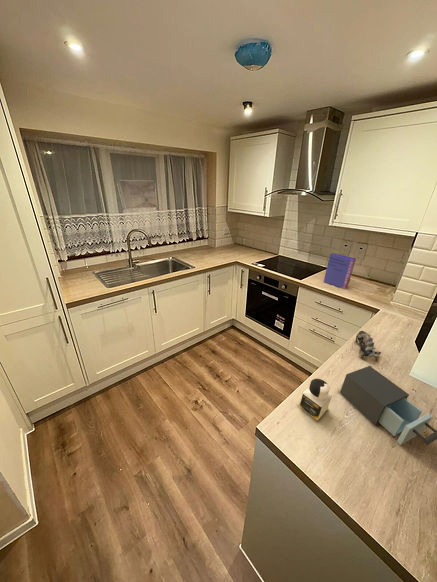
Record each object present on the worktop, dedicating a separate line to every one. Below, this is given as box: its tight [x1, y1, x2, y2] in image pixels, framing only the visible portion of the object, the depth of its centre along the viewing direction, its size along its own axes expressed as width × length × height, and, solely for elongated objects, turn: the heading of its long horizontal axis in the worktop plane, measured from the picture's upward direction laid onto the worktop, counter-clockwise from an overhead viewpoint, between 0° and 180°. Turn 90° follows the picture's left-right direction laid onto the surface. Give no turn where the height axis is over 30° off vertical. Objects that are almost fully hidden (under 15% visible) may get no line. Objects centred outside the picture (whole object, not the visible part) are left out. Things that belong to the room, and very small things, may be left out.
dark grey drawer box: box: [339, 365, 410, 426], centre depth 85 cm, size 15×13×10 cm
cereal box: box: [323, 252, 357, 290], centre depth 183 cm, size 17×5×24 cm, turn 42°
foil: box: [355, 330, 382, 361], centre depth 113 cm, size 12×11×15 cm
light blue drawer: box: [378, 398, 437, 446], centre depth 76 cm, size 18×11×8 cm, turn 23°
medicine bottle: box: [299, 378, 332, 421], centre depth 82 cm, size 7×7×12 cm
